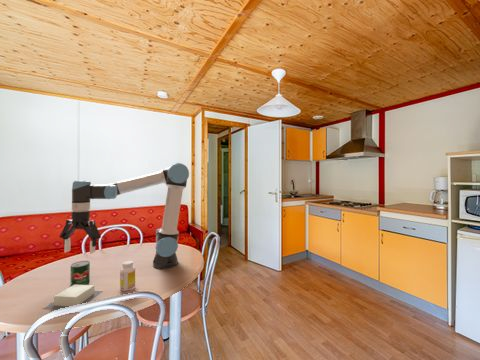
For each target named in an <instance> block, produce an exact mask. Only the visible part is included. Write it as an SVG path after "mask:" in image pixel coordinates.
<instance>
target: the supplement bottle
mask: <svg viewBox="0 0 480 360" xmlns="http://www.w3.org/2000/svg"><path fill="white" fill-rule="evenodd" d="M119 276H120V277H119V278H120V279H119V289H120V291H123V292H126V291H130V290H133V289H134V288H135V287H136V267H135V266H134V261H133V260H127V261H123V262H122V268H121V269H120V272H119Z"/></svg>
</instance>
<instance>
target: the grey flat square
mask: <svg viewBox="0 0 480 360" xmlns="http://www.w3.org/2000/svg"><path fill="white" fill-rule="evenodd" d="M103 292H104V291H103V290H94V294H93V295H92V296H91V297H89V298H88V299H86V300H85V301H83V302H82V303H86V302H88V303H90V302H91V301H92V300H94V298H96V297H99V295H100V294H102V293H103ZM82 303H81V304H82ZM65 307H69V306H54V301H53V302H51V303H49V304H48V305H47V306H45V307H43V308H42V310H54V311H55V310H56V309H60V308H65Z"/></svg>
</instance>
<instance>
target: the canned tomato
mask: <svg viewBox="0 0 480 360" xmlns="http://www.w3.org/2000/svg"><path fill="white" fill-rule="evenodd" d="M90 263H91V261H89V260H80V261H76V262H73V263H71V264H70V274H69V275H70V278H69V279H70V285H69V287H71V286H72V285H74V284H76V285H90V282H91V281H90V275H91V274H90V272H91V271H90V270H91V268H90V266H91V265H90Z"/></svg>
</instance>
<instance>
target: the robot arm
mask: <svg viewBox="0 0 480 360" xmlns="http://www.w3.org/2000/svg"><path fill="white" fill-rule="evenodd" d="M189 177H190V171H189V168H188V166H187V165H185V164H184V163H180V162H175V163H172V164H171V165H170V166H169V167H166V168H162V169H161V170H160V171H157V172H154V173H153V172H152V173H149V174H145V175H140V176H138V177H133V178H129V179H125V180H120V181H117V182H112V183H108V184H92V183H91V181H90V180H74V181H73V182H72V187H71V188H72V189H71V217H70V218H71V219H67V220H65V225H64V227H63V229H62V230H61V232H60V235H59V238H60V239H63V246H64V247H63V248H64V249H63V251H64V253H68V252H70V251H71V245H72V243H71V242H72V241H71V240H72V239H71V236H72V235H73V233H74V232H75V231H76V230H83V231H84V232H85V233H86V234H87V236H88V237H89V238H90V241H89V254H93V253H96V246H97V241H98V240H99V239H101V238H102V237H101V234H100V232H99V229H98V227H97V225H96V220H95V219H94V220H93V219H91V220H90V217H91V214H90V213H91V211H90V210H91V200H112V199H113V200H114V199H116V198H117V197H118V196H119V195H124V194H126V193H131V192H134V191H138V190H141V189H142V190H143V189H146V188H150V187H153V186H158V185H162V184H165V185H166V186H167V193H166V197H165V198H166V199H165V205H164V211H163V217H162V224H161V227H160V228H157V229H156V230H155V255H154V258H153V261H152V267H153V268H156V269H168V268H169V269H170V268H172V267H175V266H176V265H178V263H179V261H178V256H177V253H176V252H177V251H178V247H179V244H178V241H179V234H180V231H179V230H178V225H179V217H180V216H179V215H180V211H181V210H180V209H181V205H182V200H183V199H182V198H183V192H184V189H185V188H187V184H188V183H187V182H188V179H189Z"/></svg>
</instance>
